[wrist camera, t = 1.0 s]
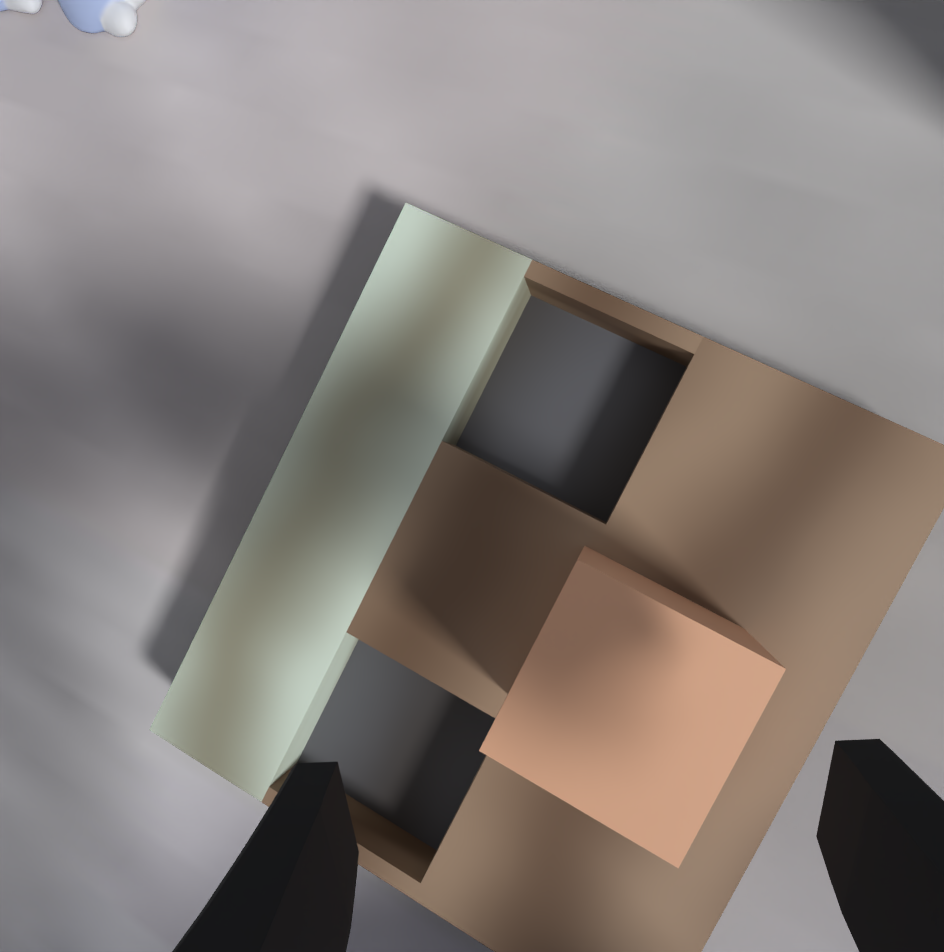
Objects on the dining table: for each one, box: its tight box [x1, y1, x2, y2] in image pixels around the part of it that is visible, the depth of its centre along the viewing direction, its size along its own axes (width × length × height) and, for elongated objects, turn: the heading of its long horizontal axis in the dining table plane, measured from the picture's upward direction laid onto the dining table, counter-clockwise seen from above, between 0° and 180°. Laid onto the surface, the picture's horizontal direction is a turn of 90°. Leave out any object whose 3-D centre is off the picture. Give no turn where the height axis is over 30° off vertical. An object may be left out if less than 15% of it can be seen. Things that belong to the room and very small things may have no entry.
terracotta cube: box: [479, 546, 786, 868], centre depth 17 cm, size 4×4×4 cm
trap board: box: [150, 203, 944, 952], centre depth 21 cm, size 16×17×2 cm
